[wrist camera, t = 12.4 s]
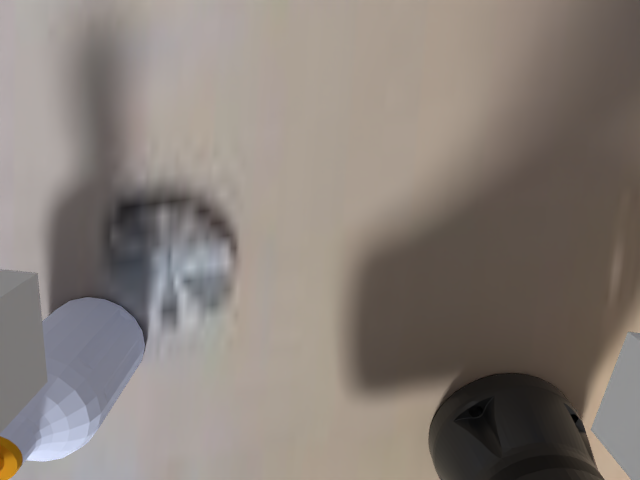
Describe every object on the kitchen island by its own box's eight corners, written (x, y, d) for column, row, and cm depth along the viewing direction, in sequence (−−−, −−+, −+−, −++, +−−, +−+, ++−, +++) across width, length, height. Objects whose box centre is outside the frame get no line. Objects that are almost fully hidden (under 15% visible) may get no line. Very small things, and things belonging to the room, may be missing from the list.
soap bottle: (61, 380, 44) (-225, 709, 21) (40, 296, 41) (-322, 569, 18) (152, 377, 44) (-31, 702, 21) (137, 293, 41) (-96, 561, 18)
